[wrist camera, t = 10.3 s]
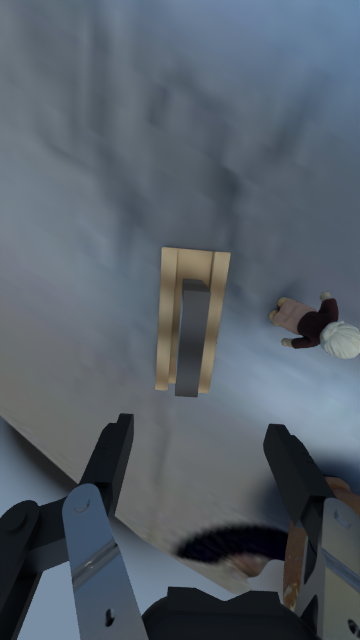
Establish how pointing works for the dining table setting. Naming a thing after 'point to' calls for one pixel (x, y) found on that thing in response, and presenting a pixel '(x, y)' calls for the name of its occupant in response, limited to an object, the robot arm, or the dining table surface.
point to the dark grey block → (191, 336)
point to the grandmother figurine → (317, 327)
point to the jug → (298, 543)
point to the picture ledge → (173, 271)
